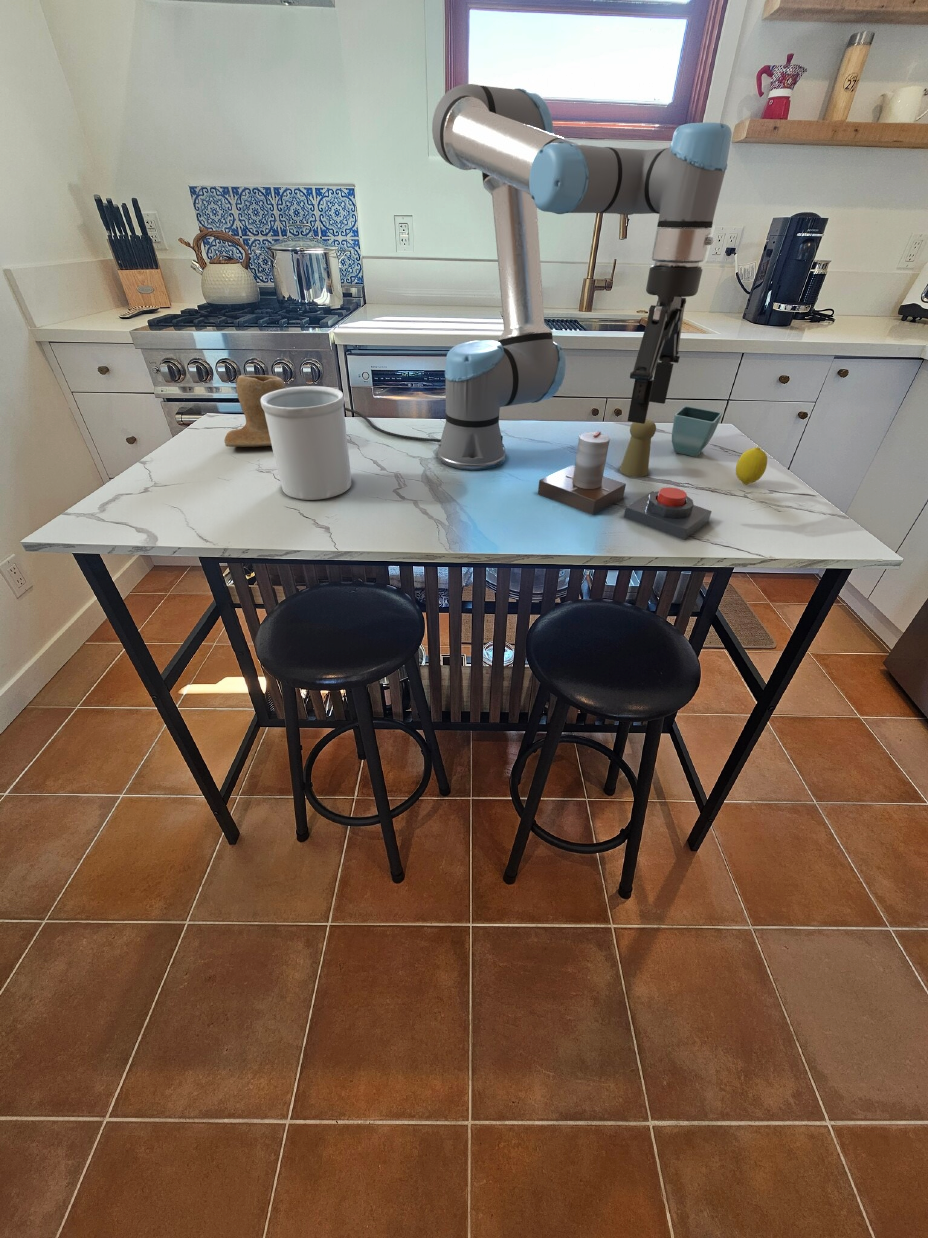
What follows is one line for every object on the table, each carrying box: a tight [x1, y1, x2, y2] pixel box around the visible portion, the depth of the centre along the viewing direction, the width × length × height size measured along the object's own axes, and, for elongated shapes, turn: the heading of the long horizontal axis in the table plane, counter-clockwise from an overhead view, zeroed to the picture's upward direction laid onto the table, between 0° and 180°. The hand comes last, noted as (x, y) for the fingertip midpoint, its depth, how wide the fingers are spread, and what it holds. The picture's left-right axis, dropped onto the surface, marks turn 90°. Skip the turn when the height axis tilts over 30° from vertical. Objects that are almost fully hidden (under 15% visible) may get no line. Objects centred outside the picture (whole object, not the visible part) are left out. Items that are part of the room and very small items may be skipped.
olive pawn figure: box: [619, 418, 657, 478], centre depth 116 cm, size 6×6×11 cm
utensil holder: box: [260, 385, 352, 501], centre depth 105 cm, size 15×15×18 cm
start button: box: [657, 486, 688, 507], centre depth 99 cm, size 5×5×2 cm
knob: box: [573, 430, 611, 489], centre depth 104 cm, size 6×6×9 cm
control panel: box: [537, 464, 627, 516], centre depth 108 cm, size 13×11×3 cm
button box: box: [623, 490, 712, 541], centre depth 101 cm, size 12×10×4 cm
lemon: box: [735, 446, 768, 486], centre depth 113 cm, size 6×6×8 cm
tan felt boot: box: [223, 374, 286, 448], centre depth 125 cm, size 15×12×15 cm
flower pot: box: [671, 405, 723, 458], centre depth 127 cm, size 9×9×9 cm
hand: (647, 411), depth 94 cm, fingers open, 13 cm apart
